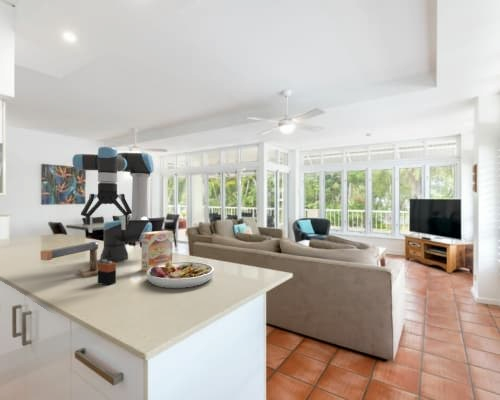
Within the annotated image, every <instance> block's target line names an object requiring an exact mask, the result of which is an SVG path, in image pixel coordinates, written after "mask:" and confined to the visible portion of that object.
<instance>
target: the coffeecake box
mask: <svg viewBox="0 0 500 400" xmlns="http://www.w3.org/2000/svg"><path fill="white" fill-rule="evenodd" d="M173 233H174V231H172V230H158V231H157V230H156V231H155V230H154V231H152V232H145V233H142V242H141V263H140V264H141V268H140V270H141V271H144V270H145V272H147V271H148V270H149V269H150V268H152V267H155V266H158V265H162V264H167V263H173V247H174V246H173V244H174V243H173V242H174V241H173V240H174V239H173V238H174V237H173V236H174V234H173Z"/></svg>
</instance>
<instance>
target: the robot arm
mask: <svg viewBox="0 0 500 400" xmlns="http://www.w3.org/2000/svg"><path fill="white" fill-rule="evenodd" d="M153 161H154V160H153V158H152V155H151V154H149V153H144V152H120V153H119V152H118V149H117V148H115V147H110V146H100V147H99V148H98V149H97V154H91V153H89V154H88V153H85V154H84V153H76V154H74V155H73V156H72V166H73V168H74V169H75V170H76V171H97V182H98V183H97V194H95V193H89V197H88V200H87V202H86V203H85V205H84V207H83V209H82V210H81V213H80V216H83V217H85V225H87V226H88V233H90V234H91V233H93V216H92V215H93V214H94V213H95V212H96V211H97V209H99V208H100V207H101V205H112V204H113V205H115V207H116V208H117V209H118V210H119V211H120V213H122V214H121V220H120V219H119V220H114V221H113V220H112V221H107V222H105V223H104V224H103V249H102V251H101V254H100V256H99V260H100V262H103V261H102V260H107V261H112V262H115V263H116V262H118V263H119V262H122V261H123V262H124V261H126V260H128V259H129V254H128V253H129V252H128V250H127V248H126V243H142V233H145V232H153V230H152V229H153V224H152V222H151V221H150V219H149V218H148V217H147V216H148V215H147V211H148V180H149V179H148V178H149V177H151V173H154V169H155V168H154V167H155V166H154V162H153ZM118 172H123V173H124V172H125V173H129V176H131V177H132V188H131V208H130V206H129V204H128V202H127V200H126V196H125V194H124V193H119V194H118V184H117V182H118ZM96 198H97V199H98V200H97V202H96V203H95V204H94V205H93V206H92V204H93V202H94V200H95V199H96ZM117 199H119V200H120V202H121V203H122V205H121V204H120V203H119V202H118V200H117ZM91 206H92V207H91ZM122 206H123V207H122ZM129 215H130V216H131V217H130V218H129V219H128V216H129Z"/></svg>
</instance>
